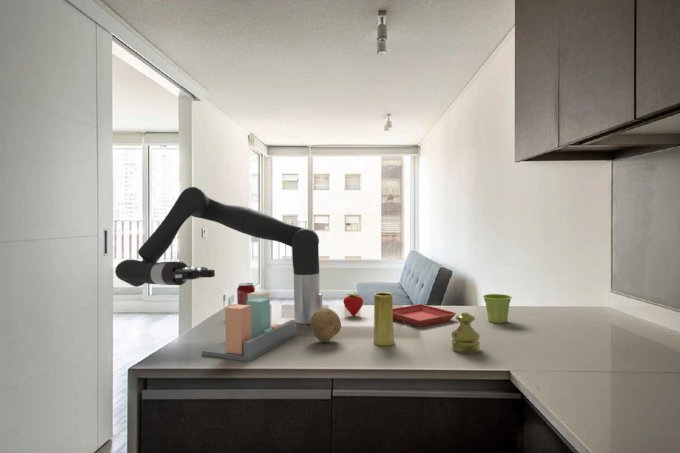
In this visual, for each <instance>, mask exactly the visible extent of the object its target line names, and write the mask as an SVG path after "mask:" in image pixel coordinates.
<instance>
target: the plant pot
mask: <svg viewBox="0 0 680 453" xmlns="http://www.w3.org/2000/svg"><path fill="white" fill-rule="evenodd" d="M482 298H483V300H484V302H485V307H486V313H487V319H488V322H492V323H493V324H496V323H497V324H503V323H508V317H509V311H510V310H509V308H510V303H511V299H513V297H512V296H511V295H508V294H502V293H501V294H500V293H490V294H489V293H488V294H487V293H486V294H483V295H482Z"/></svg>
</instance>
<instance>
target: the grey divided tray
mask: <svg viewBox="0 0 680 453" xmlns="http://www.w3.org/2000/svg"><path fill="white" fill-rule="evenodd" d="M295 336H296V323H295V319H290V320H288V321H285V322H283V323H281V324H275V325H273V326H270V328H268V329H266V330H264V333H262V334H260V335H258V336H256V337H254V338H252V339H250V340H248V341H245V342H244V354H234V353H226V340H224V341H221V342H220V343H217V344H215V345H213V346H211V347H209V348H206V349H203V350H202V356H206V357H212V358H221V359H228V360H233V361H234V360H235V361H242V362H250V361H252V360H254V359H256V358H258V357H259V356H262V355H263V354H265V353H267V352H268V351H270V350H272V349H274V348H276V347H277V346H279V345H280V344H283V343H284V341H285V342H286V341H288V340H289V339H291V338H294V337H295Z"/></svg>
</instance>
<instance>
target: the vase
mask: <svg viewBox="0 0 680 453" xmlns="http://www.w3.org/2000/svg"><path fill="white" fill-rule="evenodd" d="M373 295H374V298H373V302H374V305H373V306H374V307H373V310H374V313H373V316H374V317H373V319H374V320H373V322H374V323H373V324H374V325H373V326H374V327H373V344H374V345H377V346H380V347H381V346H383V347H386V346H387V347H388V346H393V345H394V344H395V335H394V334H395V333H394V319H393V309H394V307H393V304H394V303H393V293H391V292H376V293H374V294H373Z"/></svg>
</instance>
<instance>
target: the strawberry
mask: <svg viewBox="0 0 680 453" xmlns="http://www.w3.org/2000/svg"><path fill="white" fill-rule="evenodd" d="M353 292H354V293H348V294H346V296H345V297H344V298H343V300H342V301H343V305H344V307H345V310H347V311H348V312H349V313H350V315H351V316H352V317H355V316H356V315H357V314H358V313H359V312H360V310H361V309H362V307H363V304H364V299H363V298H362V296H360V295H359V294H357V293H356V292H355V290H353Z"/></svg>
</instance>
